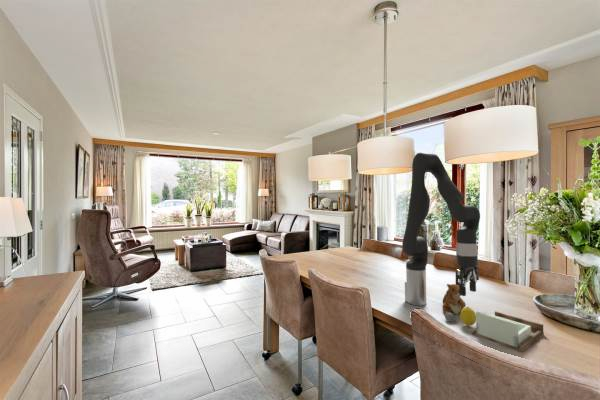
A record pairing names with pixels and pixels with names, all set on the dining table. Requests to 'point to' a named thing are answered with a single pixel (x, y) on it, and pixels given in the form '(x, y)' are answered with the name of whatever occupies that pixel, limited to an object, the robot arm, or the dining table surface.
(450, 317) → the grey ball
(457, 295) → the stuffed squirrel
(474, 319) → the lemon
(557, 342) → the dining table surface
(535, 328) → the rail board
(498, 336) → the pale green block
